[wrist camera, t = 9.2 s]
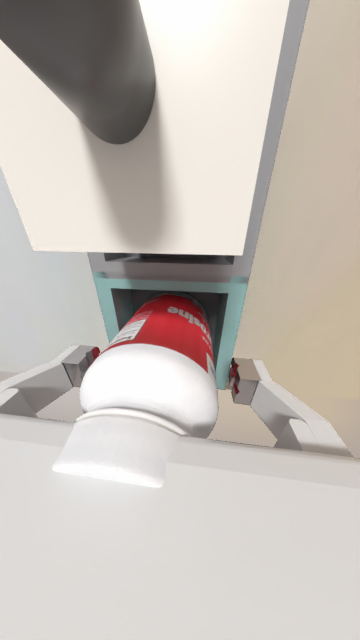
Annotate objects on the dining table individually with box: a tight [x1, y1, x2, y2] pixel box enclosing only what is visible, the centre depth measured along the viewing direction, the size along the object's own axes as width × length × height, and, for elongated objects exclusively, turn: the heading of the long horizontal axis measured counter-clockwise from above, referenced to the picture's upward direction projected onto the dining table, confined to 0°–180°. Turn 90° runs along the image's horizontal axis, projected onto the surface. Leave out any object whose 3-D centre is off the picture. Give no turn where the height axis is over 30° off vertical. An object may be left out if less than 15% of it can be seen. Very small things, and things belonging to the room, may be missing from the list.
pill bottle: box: [52, 291, 218, 488], centre depth 9 cm, size 6×6×11 cm
